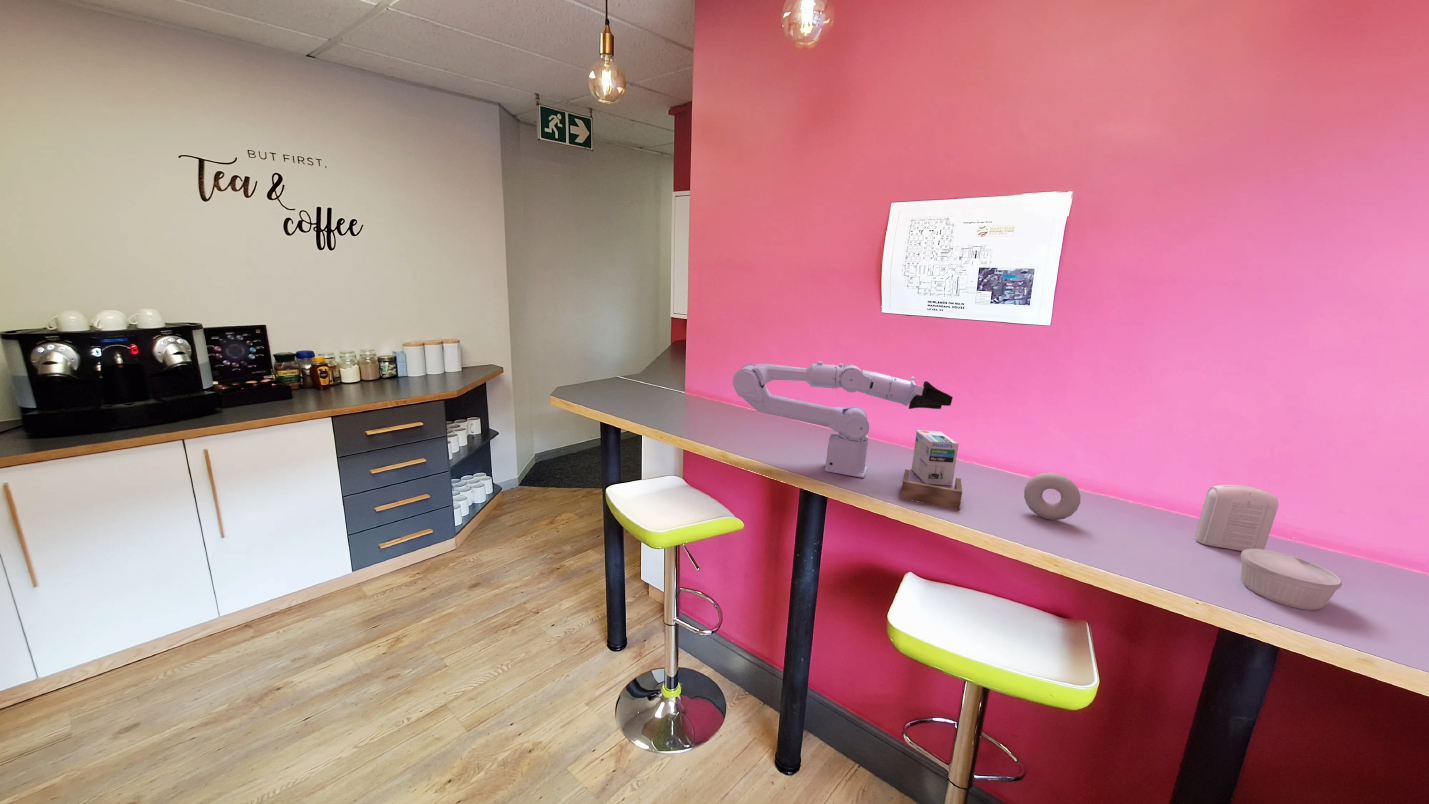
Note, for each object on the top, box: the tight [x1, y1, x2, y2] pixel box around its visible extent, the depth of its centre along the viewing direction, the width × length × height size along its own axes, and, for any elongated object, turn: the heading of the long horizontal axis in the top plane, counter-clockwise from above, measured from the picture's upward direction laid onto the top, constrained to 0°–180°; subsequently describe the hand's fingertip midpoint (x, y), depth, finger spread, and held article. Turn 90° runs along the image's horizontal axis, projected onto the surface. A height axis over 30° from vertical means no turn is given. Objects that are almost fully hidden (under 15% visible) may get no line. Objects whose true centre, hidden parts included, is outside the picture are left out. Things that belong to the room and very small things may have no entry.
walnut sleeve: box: [899, 469, 963, 511], centre depth 120 cm, size 12×9×4 cm
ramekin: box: [1240, 549, 1343, 611], centre depth 87 cm, size 11×11×5 cm
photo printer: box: [1194, 484, 1279, 552], centre depth 103 cm, size 10×4×12 cm, turn 72°
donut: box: [1023, 471, 1081, 521], centre depth 112 cm, size 10×4×10 cm, turn 55°
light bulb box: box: [910, 429, 960, 486], centre depth 132 cm, size 11×7×11 cm, turn 179°
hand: (946, 403), depth 127 cm, fingers open, 7 cm apart
